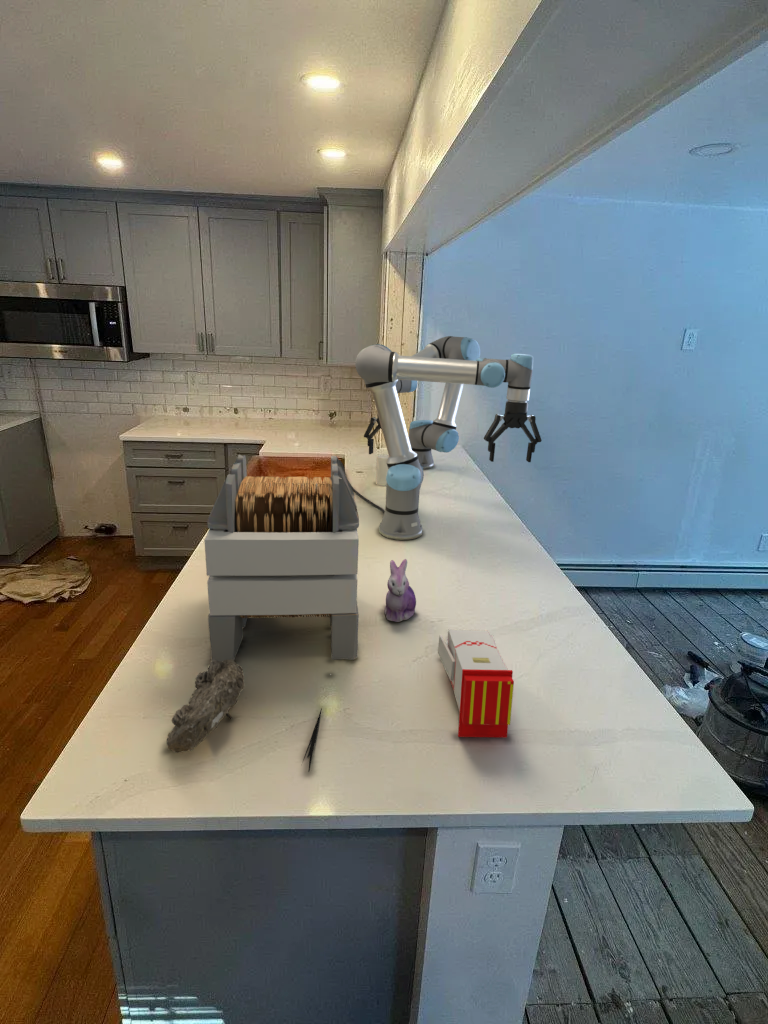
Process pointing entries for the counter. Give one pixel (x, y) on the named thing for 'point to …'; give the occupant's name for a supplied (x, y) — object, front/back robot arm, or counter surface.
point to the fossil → (206, 705)
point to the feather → (313, 740)
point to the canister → (381, 469)
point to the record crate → (282, 556)
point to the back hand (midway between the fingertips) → (384, 456)
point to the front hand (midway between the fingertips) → (509, 461)
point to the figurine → (399, 594)
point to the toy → (478, 682)
